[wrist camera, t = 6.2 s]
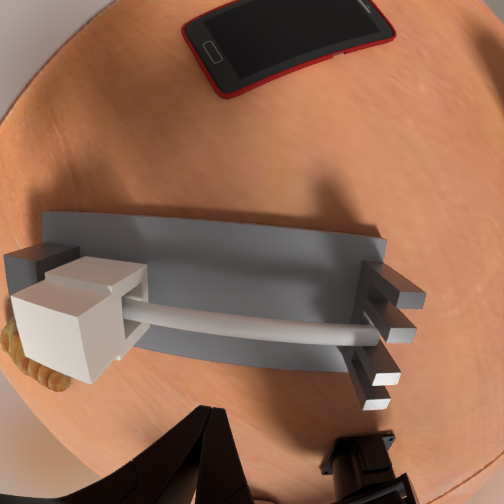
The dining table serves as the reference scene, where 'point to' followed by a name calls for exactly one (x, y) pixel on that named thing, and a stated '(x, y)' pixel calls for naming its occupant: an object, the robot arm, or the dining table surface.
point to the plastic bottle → (262, 502)
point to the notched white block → (81, 316)
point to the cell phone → (279, 38)
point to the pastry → (29, 366)
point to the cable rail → (245, 291)
